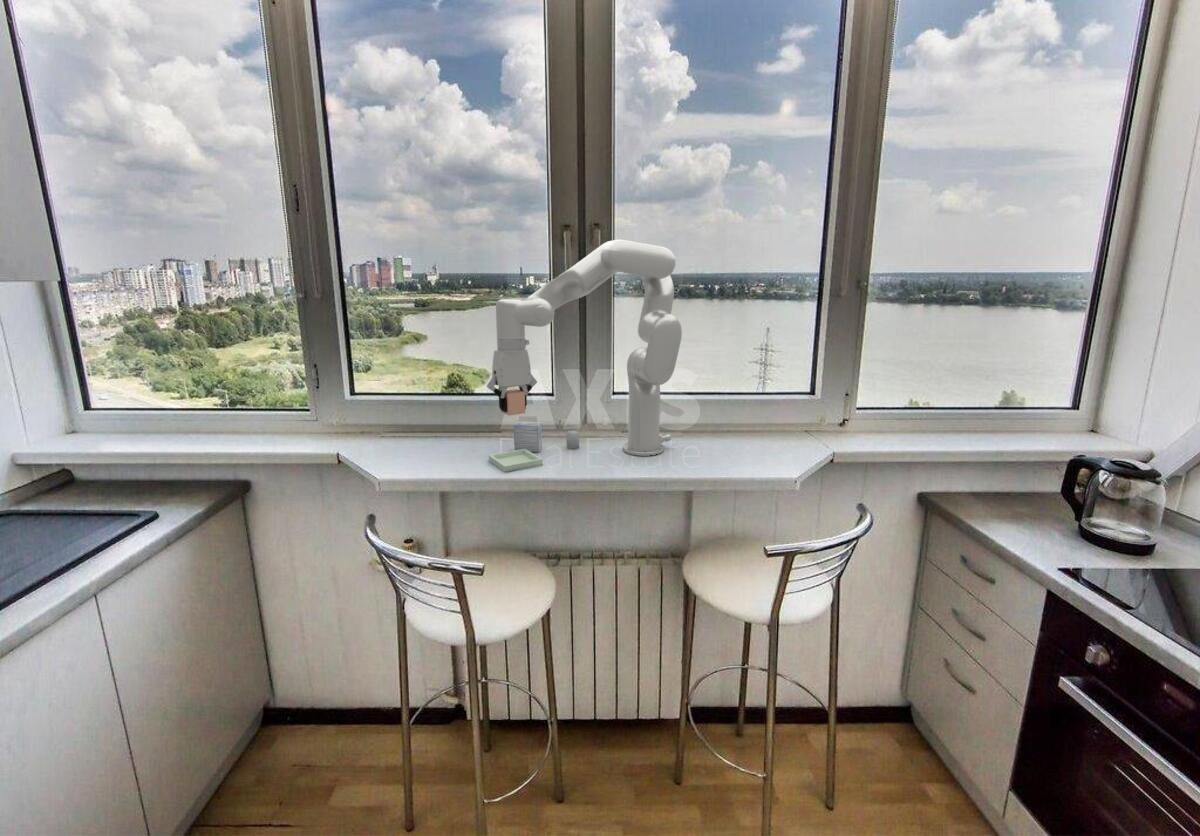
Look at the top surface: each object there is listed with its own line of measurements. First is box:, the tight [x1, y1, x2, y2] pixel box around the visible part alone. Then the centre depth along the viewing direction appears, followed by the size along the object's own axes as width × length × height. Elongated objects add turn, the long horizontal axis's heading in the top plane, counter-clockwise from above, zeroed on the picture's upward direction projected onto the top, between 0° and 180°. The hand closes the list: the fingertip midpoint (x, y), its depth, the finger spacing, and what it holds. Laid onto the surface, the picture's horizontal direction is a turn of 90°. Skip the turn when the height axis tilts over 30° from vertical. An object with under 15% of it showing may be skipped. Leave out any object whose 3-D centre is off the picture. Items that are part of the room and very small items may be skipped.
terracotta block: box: [500, 388, 526, 416], centre depth 158 cm, size 5×5×6 cm
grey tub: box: [565, 430, 580, 450], centre depth 176 cm, size 4×4×5 cm
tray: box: [488, 449, 544, 473], centre depth 162 cm, size 12×12×2 cm
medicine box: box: [512, 421, 543, 453], centre depth 173 cm, size 8×4×9 cm, turn 84°
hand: (513, 409), depth 158 cm, fingers closed on terracotta block, 5 cm apart
